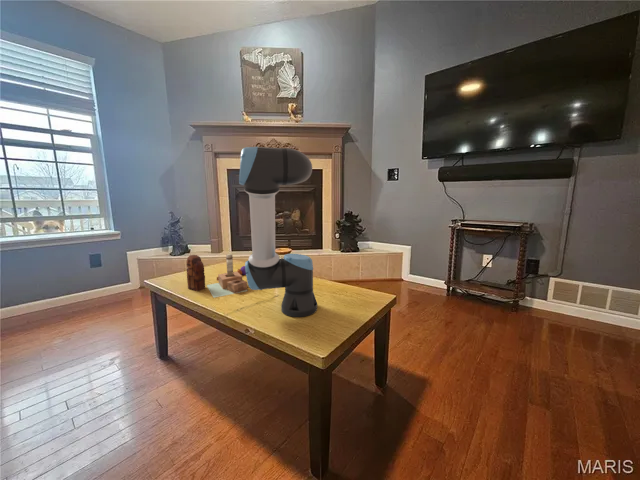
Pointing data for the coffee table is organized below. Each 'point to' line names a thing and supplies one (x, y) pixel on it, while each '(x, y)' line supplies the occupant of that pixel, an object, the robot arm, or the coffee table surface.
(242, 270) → the kendama
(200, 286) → the wooden figurine
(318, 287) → the coffee table surface
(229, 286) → the brown holed brick
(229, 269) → the grey banded cylinder
